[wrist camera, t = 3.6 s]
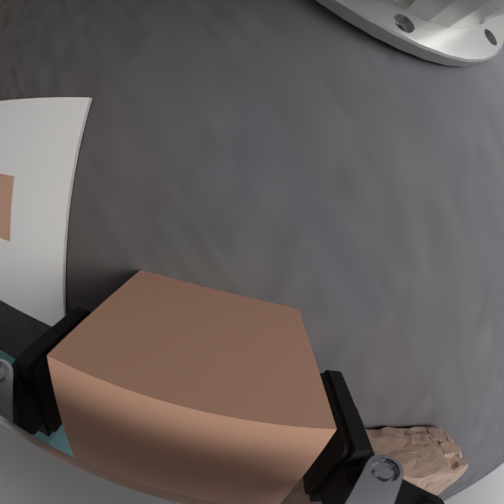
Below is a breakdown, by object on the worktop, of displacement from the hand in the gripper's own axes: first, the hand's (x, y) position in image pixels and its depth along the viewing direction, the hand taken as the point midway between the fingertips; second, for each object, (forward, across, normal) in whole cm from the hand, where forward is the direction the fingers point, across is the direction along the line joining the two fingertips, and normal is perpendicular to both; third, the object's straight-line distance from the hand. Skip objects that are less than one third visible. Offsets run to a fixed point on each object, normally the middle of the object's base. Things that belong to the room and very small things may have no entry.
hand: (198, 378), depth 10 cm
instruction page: (+1, +13, -4) cm, 14 cm away
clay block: (+2, 0, 0) cm, 2 cm away
